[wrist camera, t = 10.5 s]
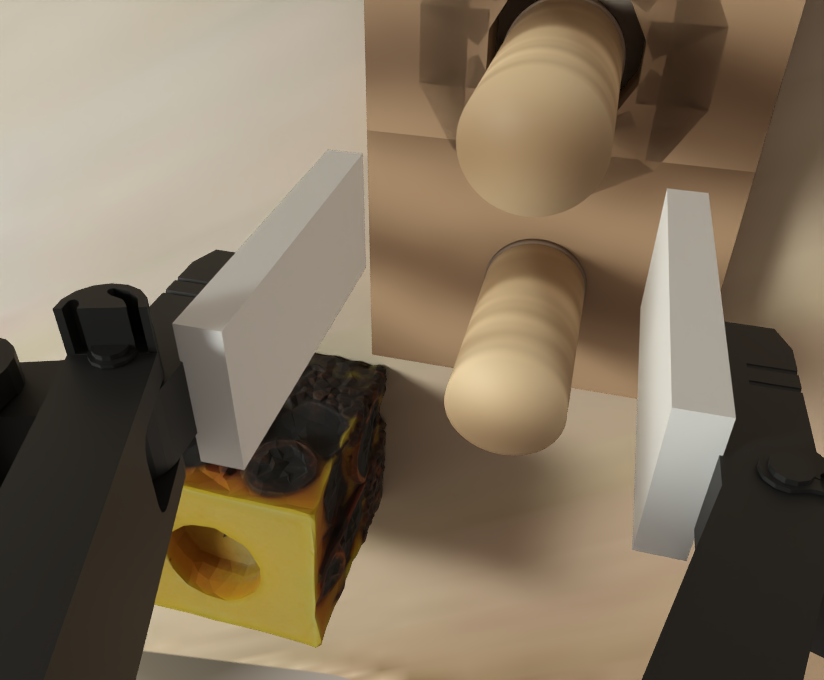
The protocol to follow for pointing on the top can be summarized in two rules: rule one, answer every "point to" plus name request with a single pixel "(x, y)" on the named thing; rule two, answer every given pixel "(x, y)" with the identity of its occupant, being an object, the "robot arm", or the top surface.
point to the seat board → (557, 234)
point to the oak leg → (545, 110)
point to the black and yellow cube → (283, 510)
